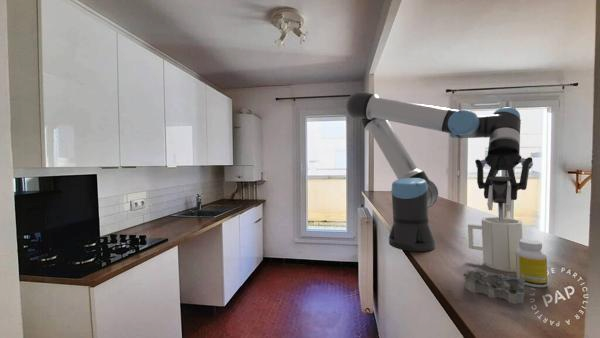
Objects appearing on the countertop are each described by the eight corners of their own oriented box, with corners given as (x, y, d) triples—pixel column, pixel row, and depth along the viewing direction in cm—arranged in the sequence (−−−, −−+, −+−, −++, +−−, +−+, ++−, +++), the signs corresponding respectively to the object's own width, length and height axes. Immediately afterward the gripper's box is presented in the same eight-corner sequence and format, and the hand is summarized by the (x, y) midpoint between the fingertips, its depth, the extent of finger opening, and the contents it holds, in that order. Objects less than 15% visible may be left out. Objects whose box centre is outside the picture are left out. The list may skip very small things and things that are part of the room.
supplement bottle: (554, 289, 56) (552, 245, 56) (525, 287, 57) (523, 244, 57) (537, 278, 61) (535, 238, 61) (511, 277, 63) (509, 237, 63)
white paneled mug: (466, 263, 72) (464, 220, 72) (472, 255, 78) (471, 215, 78) (522, 275, 63) (520, 225, 63) (524, 264, 70) (522, 219, 69)
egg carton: (461, 291, 58) (460, 273, 58) (470, 280, 63) (469, 263, 63) (523, 308, 50) (522, 288, 50) (527, 294, 55) (526, 275, 55)
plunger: (487, 251, 69) (484, 177, 69) (490, 246, 74) (487, 176, 73) (515, 256, 65) (512, 177, 65) (517, 250, 69) (514, 176, 69)
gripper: (540, 152, 74) (542, 219, 63) (474, 156, 86) (465, 213, 74) (539, 133, 70) (541, 201, 59) (470, 140, 82) (460, 197, 70)
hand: (499, 207), depth 66 cm, fingers closed on plunger, 3 cm apart
